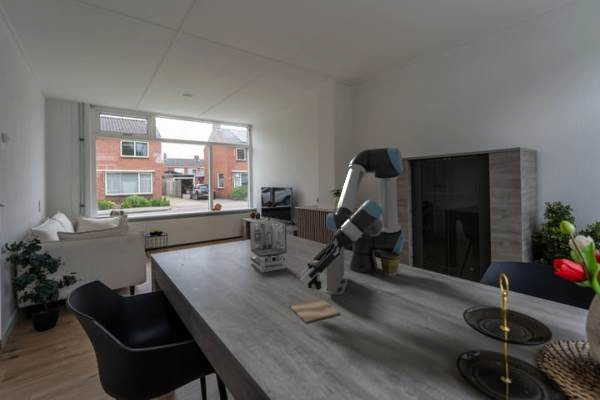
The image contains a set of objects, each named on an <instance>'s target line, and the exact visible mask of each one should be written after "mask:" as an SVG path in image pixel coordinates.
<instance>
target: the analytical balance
mask: <svg viewBox="0 0 600 400" xmlns="http://www.w3.org/2000/svg"><path fill="white" fill-rule="evenodd" d="M249 232H250V233H249V235H250V237H249V238H250V240H249V241H250V252H252V253H253V254H254V256H250V261H251V263H250V266H252V267H253V268H254V270H255V269H256V271H258V272H259V273H268V272H271V271H278V270H283V269H288V268H287V267H288V265H287V264H286V263H288V259H287V258H286V256H285V254H287V251H288V250H287V247H288V246H287V223H284V222H281V221H278V220H264V221H255V222H252V221H251V222H249Z"/></svg>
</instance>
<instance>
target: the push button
mask: <svg viewBox="0 0 600 400" xmlns="http://www.w3.org/2000/svg"><path fill="white" fill-rule="evenodd" d="M318 262H319V261H317V260H314V259H313V260H312V259H311V260H310V261H309V262H308V263H307V267H308V268H309V269H311V268H312V266H313V265H314V266H316V264H317V263H318ZM320 275H321V273H320V272H319V273H318V274H317V275H316V276H315V277H314V278H313V279H312V280H311V281H310V282H309V283H308V284H307V285H305V284H304V286H306V287H307V288H308V289H312V290H316V291H320V290H321V289H322V288H323V287H322V286H323V285H322V281H321V277H320Z"/></svg>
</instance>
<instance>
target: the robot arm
mask: <svg viewBox="0 0 600 400" xmlns="http://www.w3.org/2000/svg"><path fill="white" fill-rule="evenodd" d="M403 170H404V163H403V156H402V152H401V150H400V149H399V148H397V147H382V148H371V149H369V148H367V149H363V150H362V151H359V152H358V153H357V154H356V155H355V156H353V158H352V159H351V160H350V161H349V163H348V164H347V167H346V176H345V181H344V183H343V186H342V189H341V192H340V196H339V199H338V202H337V204H336V208H335V210H334V212H329V213H328V214H327V216H326V220H325V225H326V228H327V229H328V230H329V231H333V232H334V233H333V235H332V236H333V238H334V240H330V241H328V243H327V245H326V246H324V247H323V249H321V250H320V252H319V253H317V254H316V255H315V256H314V257H313V260H317V261H319V262H318V263H317V264H316V266H314V265H313V266H312V268H311V269H309V268H308V266H307V267H306V268H305V269H304V270H302V272H301V273H299V275H300V276H301V279H300V281H301V282H302V283H303V284H304V286H305V285H308V283H309V282H310V281H311V280H312V279H313V278H314V277H315V276H316V275H317V274H318V273H319V272H320V274H322V273H323V272H324V270H325V269H326V270H327V266H328V265H329V264H330V263H331V262H332V261H333V260H334V259H335V258H336V257H338V256H339V255H340V250H341V248H342V247H344V249H346V250H348V249H350V247H352V255H351V259H350V262H349V269H350V270H352V271H353V272H357V273H373V272H376V271H378V269H379V267H378V266H379V265H378V262H377V259H376V256H375V252H381V253H383V252H391V253H397V254H399V253H401V252H402V250H403V246H404V241H405V231H404V230H403V229H402V227H401V225H400V224H399V219H398V193H397V192H398V189H397V179H398V178H399V177H400V174H401V173H402V172H403ZM367 174H374V177H375V179H376V180H377V184H378V200H379V201H378V203H377V202H375V201H374V200H372V199H367V200H366V201H365V202H363V203H362V204H361V205H360V206H359V207H358V208H357V210H356V211H355V212H354V210H355V206H356V204H357V200H358V196H359V193H360V189H361V187H362V182H363V179H364V178H365V177H366V175H367ZM335 239H336V240H335Z"/></svg>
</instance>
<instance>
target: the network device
mask: <svg viewBox="0 0 600 400" xmlns="http://www.w3.org/2000/svg"><path fill="white" fill-rule="evenodd" d="M334 240H336V239H335V238H334ZM344 275H345V247H342V248H341V250H340V255H339V256H338V257H336V258H335V259H334V260H333V261H332V262H331V263H330V264H329V265H328V266H327V267H326V284H325V286H324V288H323V293H325V294H329V295H343V294H344V292H345V291H346V287H347V284H348V279H347V278H344ZM342 281H344V283H341V282H342ZM339 288H340V289H341V291H338V290H339Z"/></svg>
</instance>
